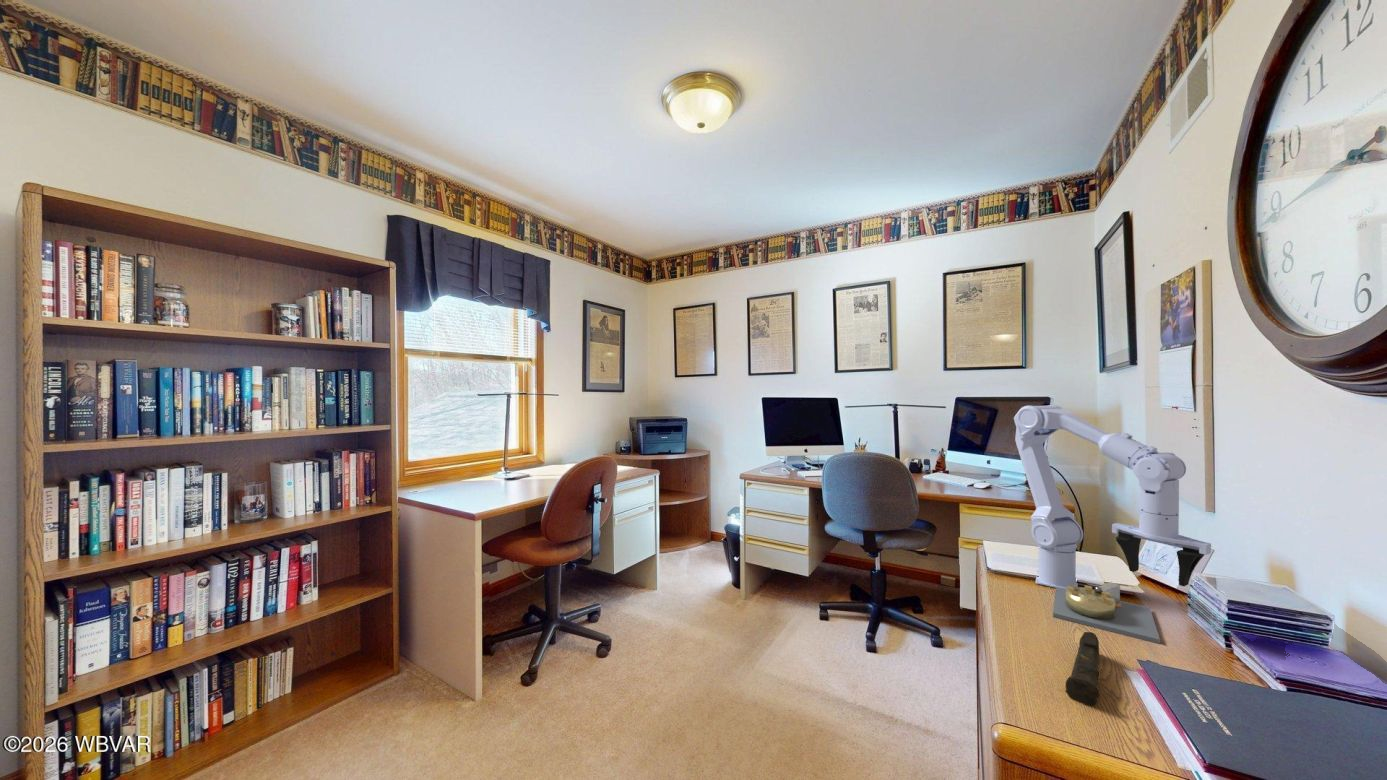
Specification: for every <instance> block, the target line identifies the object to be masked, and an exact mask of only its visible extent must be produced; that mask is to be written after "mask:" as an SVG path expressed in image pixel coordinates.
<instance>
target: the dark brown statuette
mask: <svg viewBox="0 0 1387 780" xmlns="http://www.w3.org/2000/svg"><path fill="white" fill-rule="evenodd" d="M1099 644H1100V643H1099V638H1098V636H1097V635H1096V634H1095V633H1094V632H1092V631H1083V633H1082V635H1081V637H1080V638H1079V642H1078V650H1077V653H1076V656H1075V660H1074V663H1073V667H1072V671H1071V674H1070V676H1068V677H1067V680H1066V681H1065V691H1064V692H1065V693H1066V694H1067V696H1068V697H1069V698H1070V699H1071V700H1072V701H1073V700H1074V701H1076V702H1078V703H1082V704H1083V705H1084V704H1085V705H1087V706H1092V707H1093V706H1096V705H1097V704H1098V699H1099V698H1100V690H1099V688H1098V685H1099V678H1100V676H1101V675H1100V671H1099V666H1100V665H1099V664H1100V645H1099Z"/></svg>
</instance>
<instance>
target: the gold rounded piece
mask: <svg viewBox="0 0 1387 780" xmlns="http://www.w3.org/2000/svg"><path fill="white" fill-rule="evenodd" d="M1120 590H1121V585H1120V584H1117V583H1114V582H1112V581H1111V582H1108V583H1105V584H1102V585H1099V586H1095V587H1094V589H1093V586H1091V585H1085V584H1084V587H1083V586H1078V587H1076V586H1073V585H1068V586H1067V589H1066V605H1067V606H1068V607H1069V608H1070V609H1072V610H1073V611H1076V612H1078V613H1080V614H1083V615H1087V616H1090V617H1095V618H1103V619H1110V618H1113V617H1115V603H1117V602H1119V601H1121V595H1120V594H1121V591H1120Z"/></svg>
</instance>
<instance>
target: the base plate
mask: <svg viewBox="0 0 1387 780" xmlns="http://www.w3.org/2000/svg"><path fill="white" fill-rule="evenodd" d="M1054 592H1055V593H1054V600H1053V601H1054V603H1053V609H1052V610H1053V611H1052V617H1053V618H1056V619H1060V620H1064V621H1065V620H1066V621H1068V622H1073V623H1077V624H1081V625H1085V626H1087V627H1093V628H1096V629H1101V630H1104V631H1108V632H1113V633H1116V634H1120V635H1124V636H1128V637H1132V638H1135V639H1138V640H1142V641H1143V640H1144V641H1148V642H1151V643H1155V644H1161V643H1160V642H1161V641H1160V635H1159V633H1158V632H1159V631H1158V629H1157V626H1156V623H1155V620H1154V616H1153V613H1152V610H1151V608H1150V607H1149V606H1146V605H1139V604H1135V603H1131V602H1127V601H1122V600H1120V601H1119V602H1117V603H1115V617H1113V618H1110V619H1103V618H1095V617H1090V616H1087V615H1083V614H1080V613H1078V612H1076V611H1073V610H1072V609H1070V608H1069V607H1068V606H1067V605H1066V589H1063V588H1059V587H1056V588H1055V591H1054Z"/></svg>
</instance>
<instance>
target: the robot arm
mask: <svg viewBox="0 0 1387 780" xmlns="http://www.w3.org/2000/svg"><path fill="white" fill-rule="evenodd" d="M1013 421H1014V425H1015V427H1016V429H1015V437H1014V439H1015V444H1016V447H1017V450H1018V453H1019V457H1020V461H1021V463H1022V464H1021V465H1022V468H1023V470H1024V472H1025V476H1026V479H1027V483H1028V486H1029V490H1030V492H1031V496H1032V498H1033V503H1034V506H1035V510H1034V512H1033V513H1032V515H1031V516H1030V520H1031V536H1032V539H1033V540H1034V542H1035V543H1036V547H1037V546H1038V570H1039V571H1038V570H1037V572H1038V576H1039V577H1037V576H1036V578H1035V584H1038V585H1041V586H1046V587H1050V588H1054V589H1056V587H1059V588H1063V589H1067V586H1068V585H1073V586H1076V587H1079V586H1078V585H1079V584H1078V583H1079V582H1078V583H1076V578H1077V576H1076V575H1077V574H1076V572H1077V571H1076V569H1077V568H1076V567H1077V565H1076V563H1077V562H1076V559H1077V557H1076V556H1077V554H1076V553H1077V551H1076V550H1077V548H1078V544H1079V543H1081V542H1082V540H1083V538H1084V531H1083V528H1082V527H1081V525H1080V524H1079V523H1078V521H1077V520H1076V519H1075V517H1074V513H1073V512H1072V511H1070V510H1069V509H1068V508H1067V507H1065V506H1064V504H1063V502H1062V499H1061V496H1060V493H1059V490H1058V486H1057V483H1056V481H1055V477H1054V474H1053V472H1052V468H1051V466H1050V462H1049V459H1048V456H1047V453H1046V450H1045V447H1044V443H1045V441H1047V439H1048V438H1049V437H1050V436H1051V435H1052V434H1054V433H1055V432H1057V431H1059V430H1064V431H1066V432H1069V433H1071V434H1073V435H1075V436H1077V437H1078V438H1082V439H1083V440H1086V441H1087V442H1090V443H1092V444H1093V445H1096V446H1098V447H1099V451H1100V453H1101V454H1102V455H1104V456H1106V457H1107V458H1109V459H1111V460H1113V461H1115V462H1117V463H1118V464H1121V465H1122V466H1125V467H1126V468H1128V469H1130V470H1131V471H1132V472H1133V474H1134V475H1135V477H1136V478H1137V479H1138V487H1139V502H1138V503H1139V504H1138V505H1139V507H1138V508H1139V509H1138V510H1139V511H1138V512H1139V513H1138V521H1139V522H1138V526H1136V525H1131V524H1130V525H1129V524H1124V523H1119V522H1115V523H1112V524H1111V532H1112V534H1116V535H1117V536H1116V537H1115V541H1116V542H1117V544H1118V545H1119V547H1120V548H1121V550H1122V552H1123V555H1124V556H1125V557H1124V558H1125V559H1126V561H1127V566H1128V569H1129V571H1130V572H1132V573H1134V572H1137V571H1139V567H1140V559H1139V558H1140V557H1139V555H1140V546H1141V540H1146V541H1150V542H1155V543H1158V544H1163V545H1167V546H1171V547H1174V548H1180V550H1177V551H1176V556H1177V563H1178V585H1179V586H1181V587H1187V586H1188V585H1189V583H1190V580H1191V577H1192V575H1193V572H1194V570H1195V568H1196V567H1197V565H1198V563H1200V561H1201V560H1202V559H1203V558H1204V556H1206V555H1207V556H1208V555H1210V554H1211V553H1212V544H1211V543H1210V542H1206V541H1202V540H1198V539H1195V538H1192V537H1188V536H1184V535H1180V534H1179V533H1180V531H1179V522H1180V521H1179V518H1180V517H1179V514H1180V479H1182V478H1183V477H1184V476H1185V475H1186V472H1187V466H1186V464H1185V462H1184V461H1183V459H1181V458H1180V457H1179V456H1177V455H1176V454H1175V453H1174V452H1168V451H1164V452H1163V451H1161V452H1159V451H1158V448H1157V447H1155V446H1153V445H1150V446H1148V445H1146V444H1144V443H1142V442H1140V441H1137V440H1135V439H1133V438H1134V437H1133V435H1132V434H1130V433H1128V432H1123V433H1122V432H1113V433H1109V432H1107V431H1105V430H1103V429H1101V428H1100V427H1098V426H1096V425H1094V424H1093V423H1090V422H1088V421H1087V420H1085V419H1084V418H1081V417H1080V416H1078V415H1075V414H1074V413H1073V412H1072V411H1070V410H1069V409H1068V408H1063V407H1061V406H1059V405H1058V404H1049V405H1024V406H1021V408H1020V409H1019V410H1018V411H1017V413H1016V414H1015V416H1014V417H1013Z"/></svg>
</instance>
